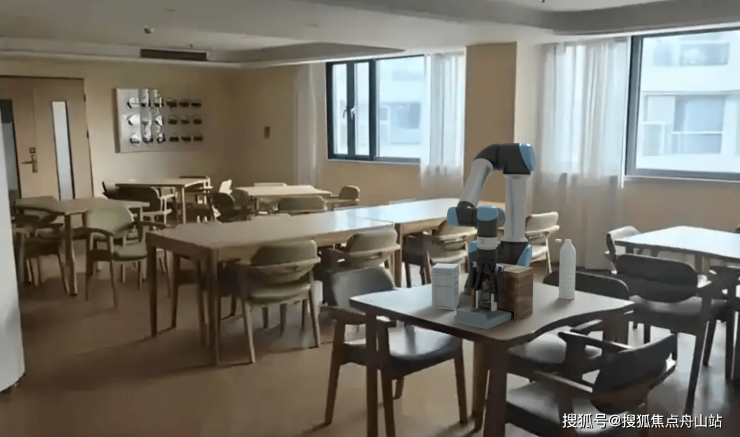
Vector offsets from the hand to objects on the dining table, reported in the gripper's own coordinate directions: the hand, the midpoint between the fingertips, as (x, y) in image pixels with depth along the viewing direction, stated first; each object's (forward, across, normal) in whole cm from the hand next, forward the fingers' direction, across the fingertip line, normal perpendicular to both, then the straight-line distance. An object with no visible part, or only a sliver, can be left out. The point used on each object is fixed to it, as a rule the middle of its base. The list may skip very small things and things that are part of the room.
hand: (486, 308), depth 245 cm
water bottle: (+4, +9, +48) cm, 49 cm away
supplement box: (+4, -22, +6) cm, 23 cm away
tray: (+4, 0, -2) cm, 5 cm away
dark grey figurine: (+1, 0, 0) cm, 1 cm away
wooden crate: (+4, 0, +12) cm, 12 cm away
